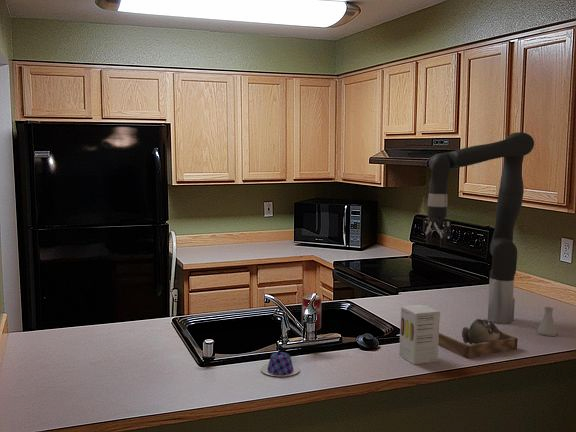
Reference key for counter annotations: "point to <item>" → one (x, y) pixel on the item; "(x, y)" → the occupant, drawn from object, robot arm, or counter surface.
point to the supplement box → (419, 334)
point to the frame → (479, 346)
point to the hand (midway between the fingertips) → (435, 245)
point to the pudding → (280, 365)
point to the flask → (547, 323)
